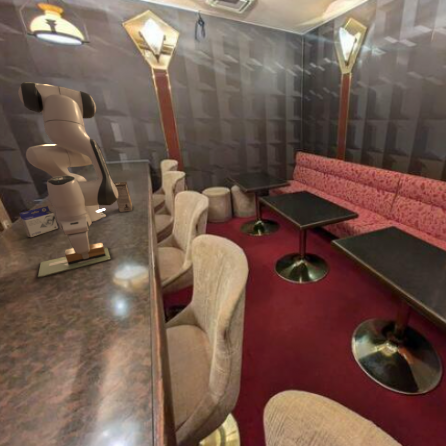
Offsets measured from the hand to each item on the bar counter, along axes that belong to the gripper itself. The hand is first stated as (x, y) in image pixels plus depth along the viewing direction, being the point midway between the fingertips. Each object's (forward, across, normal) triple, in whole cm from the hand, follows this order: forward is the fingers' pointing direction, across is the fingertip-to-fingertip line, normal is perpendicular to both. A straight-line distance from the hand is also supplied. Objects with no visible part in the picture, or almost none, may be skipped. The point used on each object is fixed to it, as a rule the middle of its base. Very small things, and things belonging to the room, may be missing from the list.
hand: (85, 254), depth 95 cm
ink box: (+2, -42, -14) cm, 44 cm away
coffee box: (+2, -60, +21) cm, 63 cm away
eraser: (+1, 0, 0) cm, 1 cm away
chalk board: (+2, 0, -3) cm, 4 cm away
